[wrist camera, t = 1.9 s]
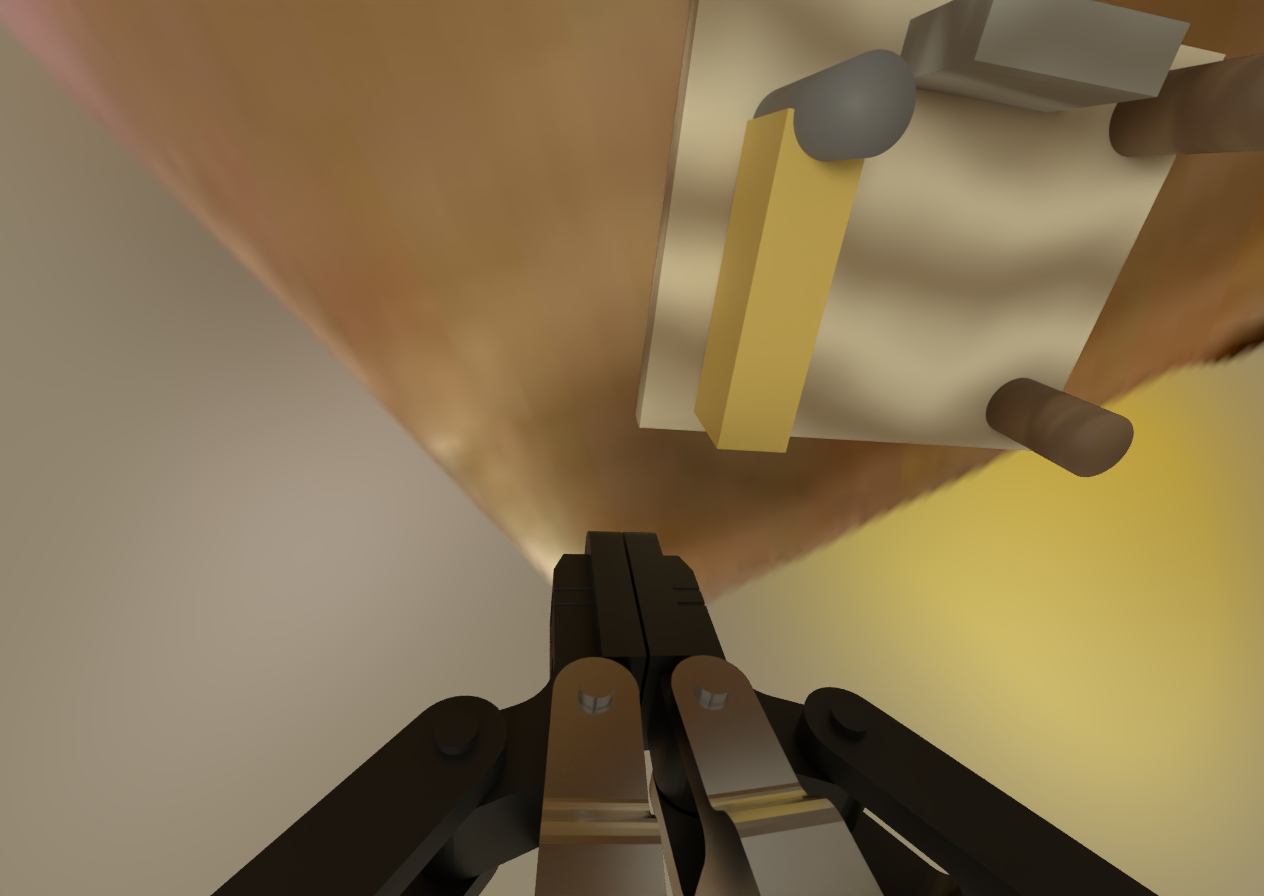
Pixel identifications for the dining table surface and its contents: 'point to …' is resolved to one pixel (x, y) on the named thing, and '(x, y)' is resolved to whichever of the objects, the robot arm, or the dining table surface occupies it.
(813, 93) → the bar
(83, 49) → the dining table surface
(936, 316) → the seat board
